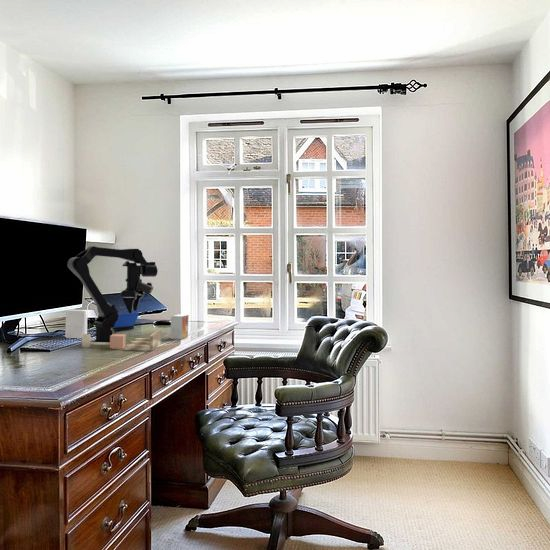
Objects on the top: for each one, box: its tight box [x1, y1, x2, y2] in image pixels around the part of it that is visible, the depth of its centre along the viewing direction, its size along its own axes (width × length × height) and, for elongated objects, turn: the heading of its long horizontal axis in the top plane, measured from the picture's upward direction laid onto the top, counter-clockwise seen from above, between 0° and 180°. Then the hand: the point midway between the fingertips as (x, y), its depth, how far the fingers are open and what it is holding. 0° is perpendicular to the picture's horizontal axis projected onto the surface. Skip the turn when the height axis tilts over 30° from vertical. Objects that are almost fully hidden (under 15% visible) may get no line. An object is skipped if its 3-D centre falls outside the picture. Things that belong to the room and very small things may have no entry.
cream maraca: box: [81, 333, 127, 350], centre depth 204 cm, size 16×5×5 cm, turn 95°
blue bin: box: [113, 311, 140, 332], centre depth 252 cm, size 16×13×9 cm
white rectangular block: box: [64, 309, 88, 339], centre depth 226 cm, size 9×9×12 cm
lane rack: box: [124, 329, 162, 352], centre depth 208 cm, size 11×17×6 cm, turn 2°
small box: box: [170, 313, 190, 340], centre depth 233 cm, size 8×6×10 cm
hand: (132, 311), depth 226 cm, fingers open, 9 cm apart
